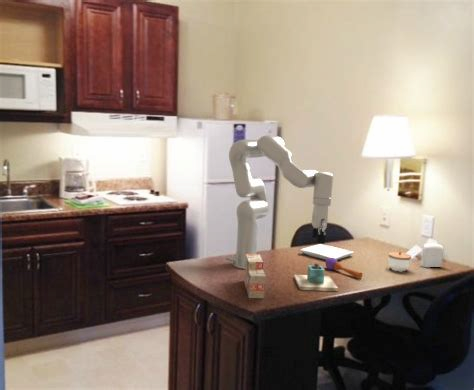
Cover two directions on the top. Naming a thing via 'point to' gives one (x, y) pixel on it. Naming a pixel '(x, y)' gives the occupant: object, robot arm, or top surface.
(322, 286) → the cream peg stand
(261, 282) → the stack of blocks
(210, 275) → the top surface
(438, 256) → the photo printer
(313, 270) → the open box
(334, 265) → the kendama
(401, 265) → the lidded jar
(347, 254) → the salad plate
